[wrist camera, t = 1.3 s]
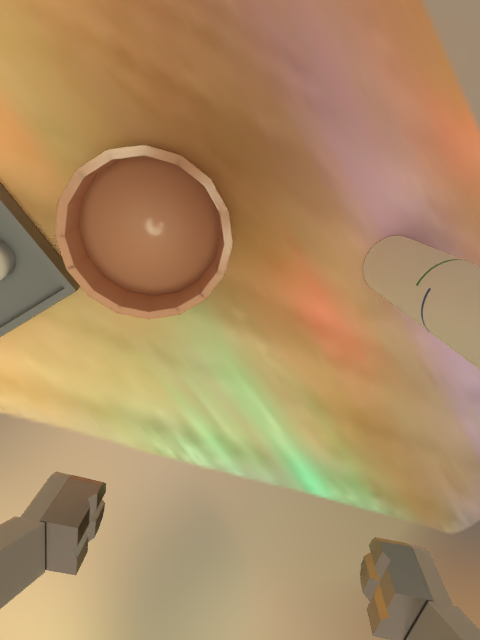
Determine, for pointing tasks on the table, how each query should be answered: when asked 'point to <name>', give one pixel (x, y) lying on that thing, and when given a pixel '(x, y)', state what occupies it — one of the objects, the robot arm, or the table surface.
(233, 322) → the table surface
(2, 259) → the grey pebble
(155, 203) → the terracotta bowl
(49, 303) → the parts tray
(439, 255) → the cylindrical container
